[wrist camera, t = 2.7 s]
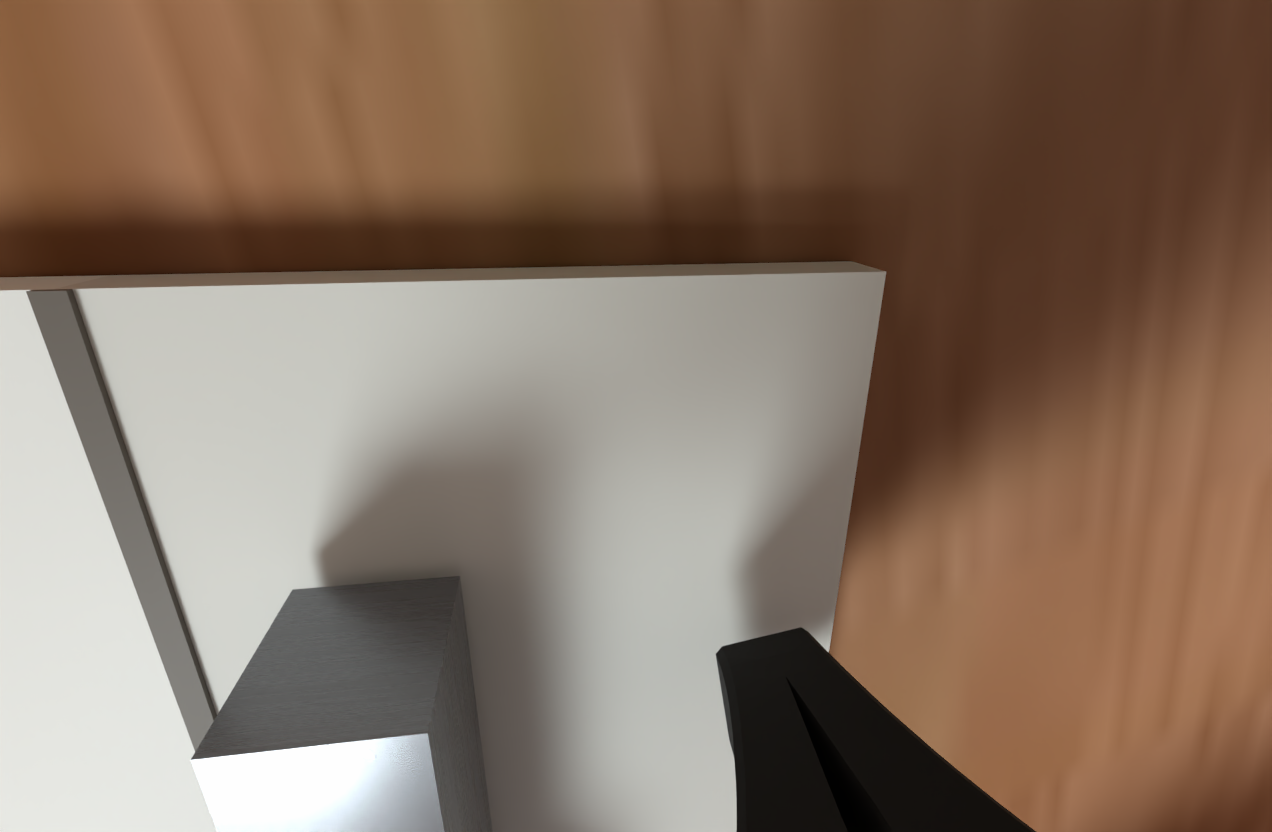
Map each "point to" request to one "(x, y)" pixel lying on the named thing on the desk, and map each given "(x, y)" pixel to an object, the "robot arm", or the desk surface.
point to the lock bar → (352, 718)
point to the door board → (420, 511)
